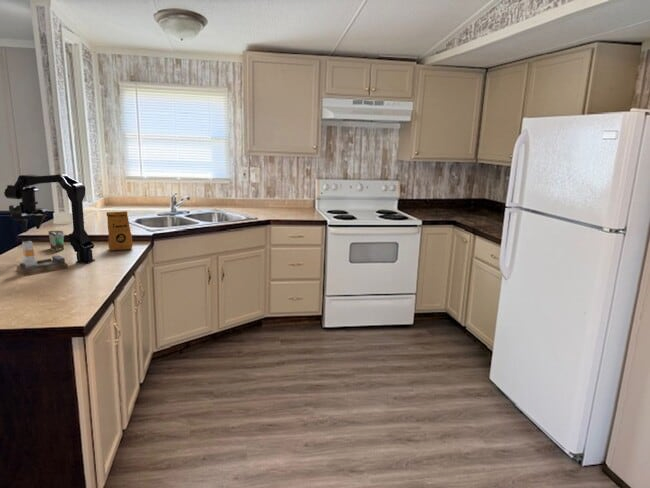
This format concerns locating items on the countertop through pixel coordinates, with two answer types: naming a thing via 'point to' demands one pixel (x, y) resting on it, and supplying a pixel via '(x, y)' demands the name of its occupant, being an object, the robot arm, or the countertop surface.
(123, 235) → the coffee package
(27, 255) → the sliding jaw
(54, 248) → the food container
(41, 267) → the base
